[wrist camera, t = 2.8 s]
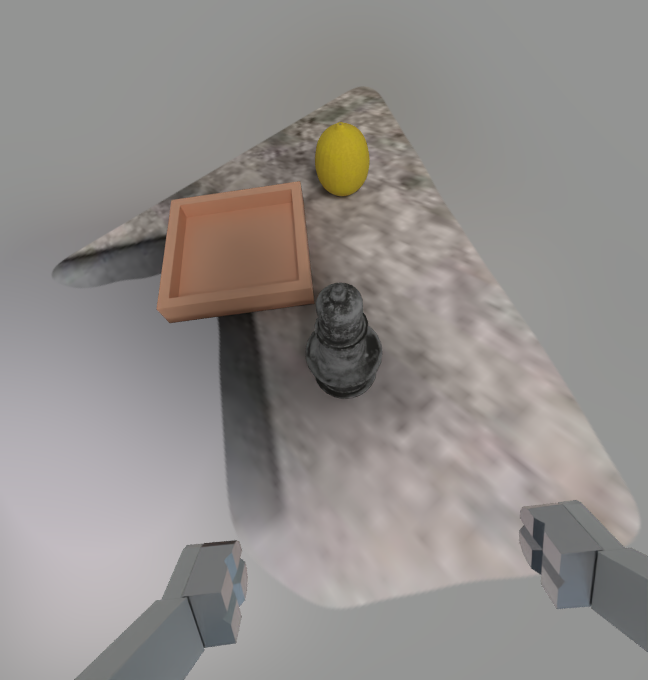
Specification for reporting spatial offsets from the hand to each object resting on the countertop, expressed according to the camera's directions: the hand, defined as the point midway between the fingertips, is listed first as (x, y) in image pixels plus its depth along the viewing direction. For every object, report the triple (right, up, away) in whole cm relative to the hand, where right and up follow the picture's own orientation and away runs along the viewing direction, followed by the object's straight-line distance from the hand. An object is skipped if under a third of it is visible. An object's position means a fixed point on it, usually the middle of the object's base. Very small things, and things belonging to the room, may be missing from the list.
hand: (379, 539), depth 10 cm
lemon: (+1, +22, +30) cm, 37 cm away
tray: (-10, +14, +27) cm, 32 cm away
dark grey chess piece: (0, +3, +20) cm, 21 cm away
